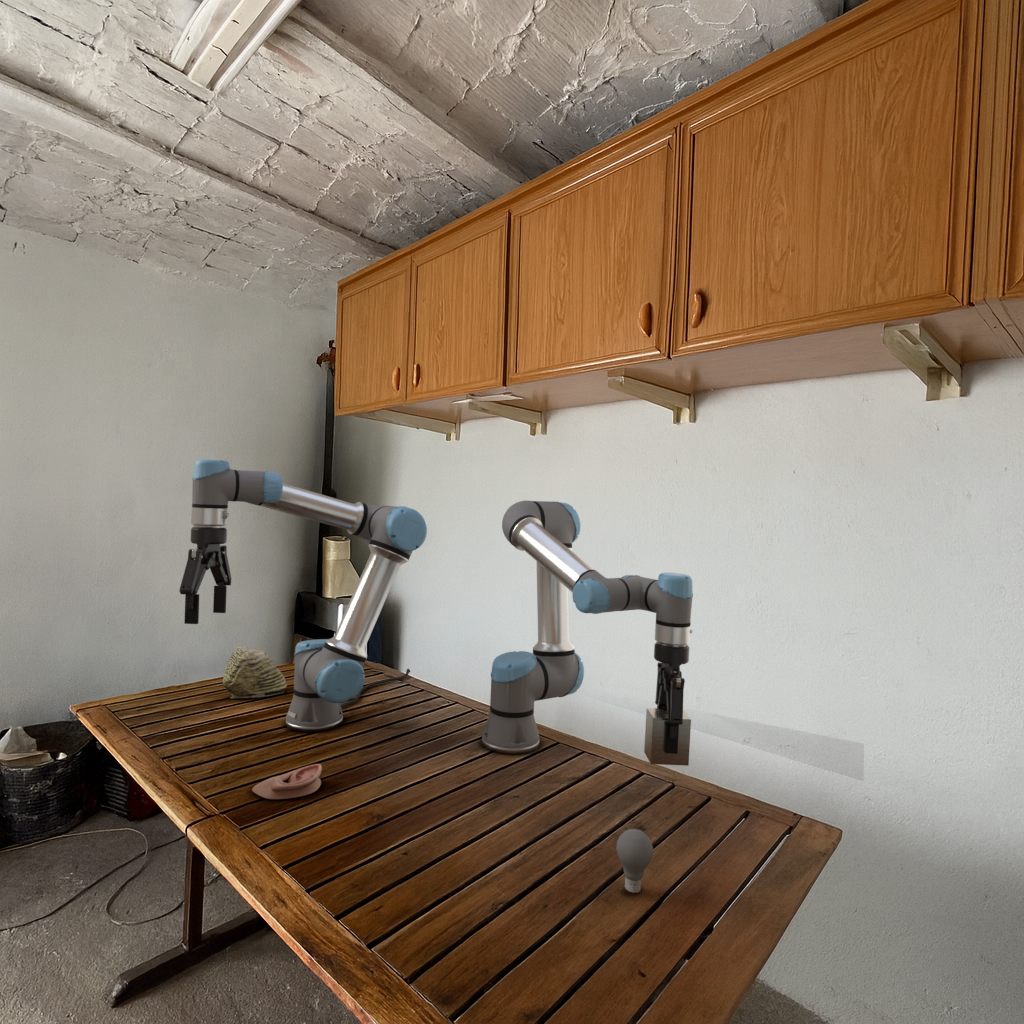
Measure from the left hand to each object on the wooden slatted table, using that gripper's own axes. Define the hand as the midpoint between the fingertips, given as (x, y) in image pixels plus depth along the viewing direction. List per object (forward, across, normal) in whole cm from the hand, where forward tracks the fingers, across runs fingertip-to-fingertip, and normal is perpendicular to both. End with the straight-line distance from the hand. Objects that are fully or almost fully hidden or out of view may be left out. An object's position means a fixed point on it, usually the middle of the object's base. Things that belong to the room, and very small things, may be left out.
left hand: (206, 618), depth 147 cm
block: (+26, -7, -106) cm, 110 cm away
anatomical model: (+34, -11, -24) cm, 43 cm away
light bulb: (+34, -42, -92) cm, 107 cm away
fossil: (+34, +51, +8) cm, 62 cm away
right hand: (+23, -7, -106) cm, 109 cm away
